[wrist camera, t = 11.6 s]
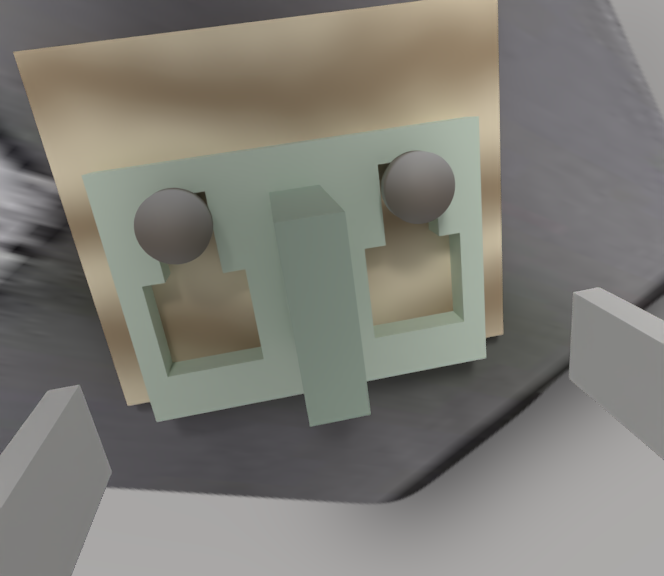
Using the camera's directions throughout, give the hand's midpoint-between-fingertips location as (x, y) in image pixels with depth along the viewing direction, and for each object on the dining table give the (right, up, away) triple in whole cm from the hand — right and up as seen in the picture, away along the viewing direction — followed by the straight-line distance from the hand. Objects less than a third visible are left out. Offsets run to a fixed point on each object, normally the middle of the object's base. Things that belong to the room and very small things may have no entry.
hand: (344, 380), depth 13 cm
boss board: (-2, +6, +13) cm, 15 cm away
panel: (-2, +3, +13) cm, 14 cm away
